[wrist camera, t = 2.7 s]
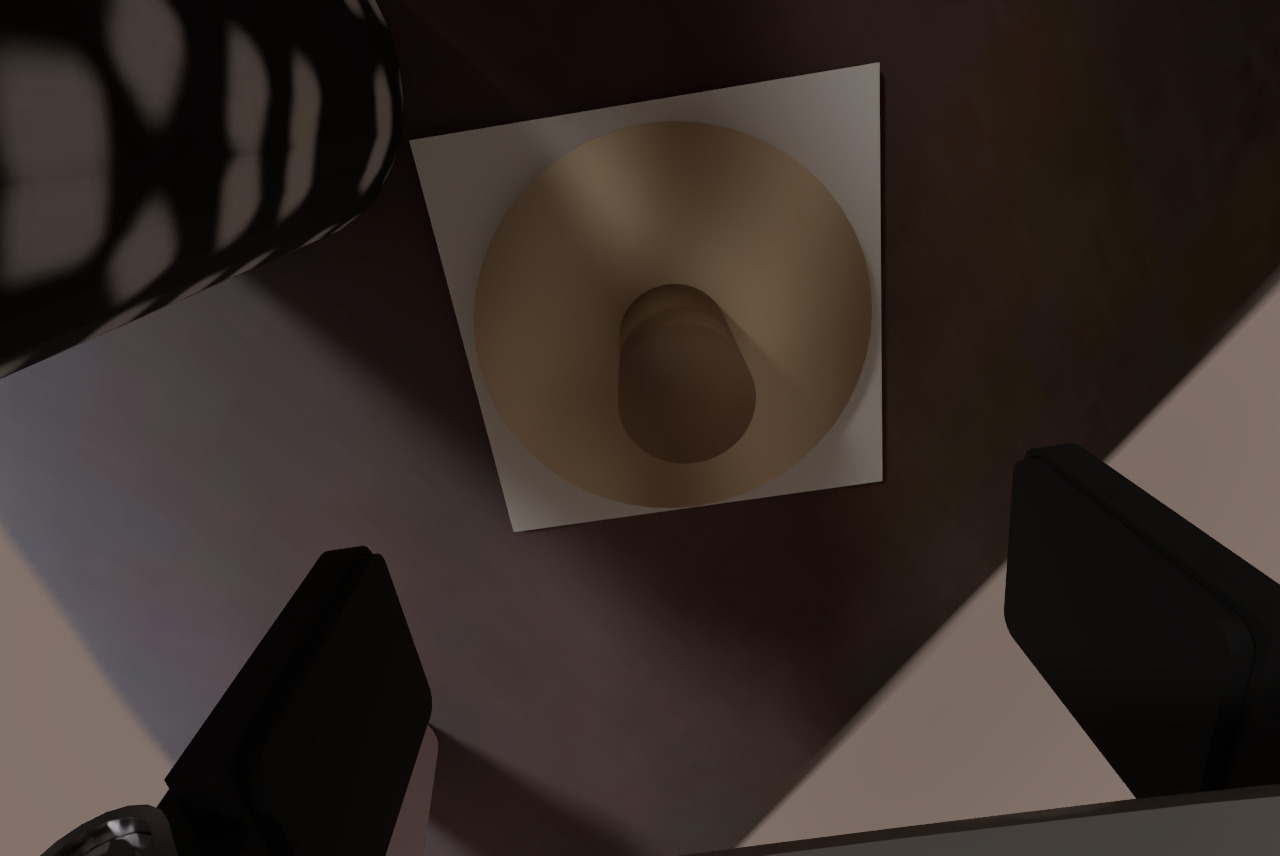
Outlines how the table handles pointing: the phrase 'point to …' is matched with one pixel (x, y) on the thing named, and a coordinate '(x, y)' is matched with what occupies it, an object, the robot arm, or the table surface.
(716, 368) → the lid
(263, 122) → the spotted tube
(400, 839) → the smoothie
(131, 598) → the table surface
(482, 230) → the mat
